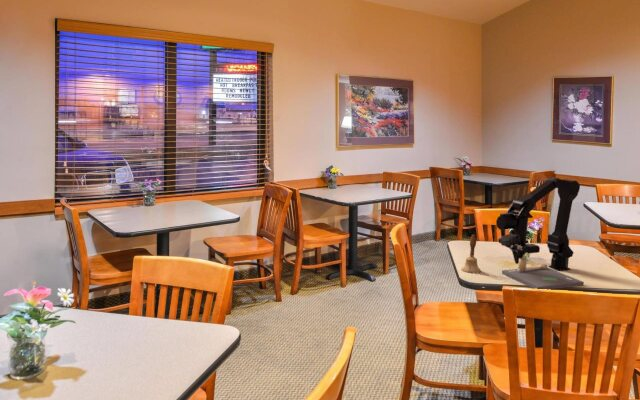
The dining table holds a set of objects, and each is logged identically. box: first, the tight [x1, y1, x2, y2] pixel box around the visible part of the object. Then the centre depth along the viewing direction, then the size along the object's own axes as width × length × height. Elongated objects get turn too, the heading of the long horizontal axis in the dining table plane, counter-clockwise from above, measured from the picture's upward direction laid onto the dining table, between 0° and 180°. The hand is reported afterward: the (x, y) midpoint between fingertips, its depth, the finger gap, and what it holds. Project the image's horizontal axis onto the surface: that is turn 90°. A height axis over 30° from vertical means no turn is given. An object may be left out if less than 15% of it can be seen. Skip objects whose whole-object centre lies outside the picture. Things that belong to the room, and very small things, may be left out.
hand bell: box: [460, 234, 482, 274], centre depth 221 cm, size 8×8×16 cm
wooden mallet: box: [516, 257, 548, 271], centre depth 218 cm, size 16×4×5 cm, turn 115°
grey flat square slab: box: [501, 267, 585, 290], centre depth 211 cm, size 22×22×2 cm
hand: (516, 263), depth 219 cm, fingers closed
